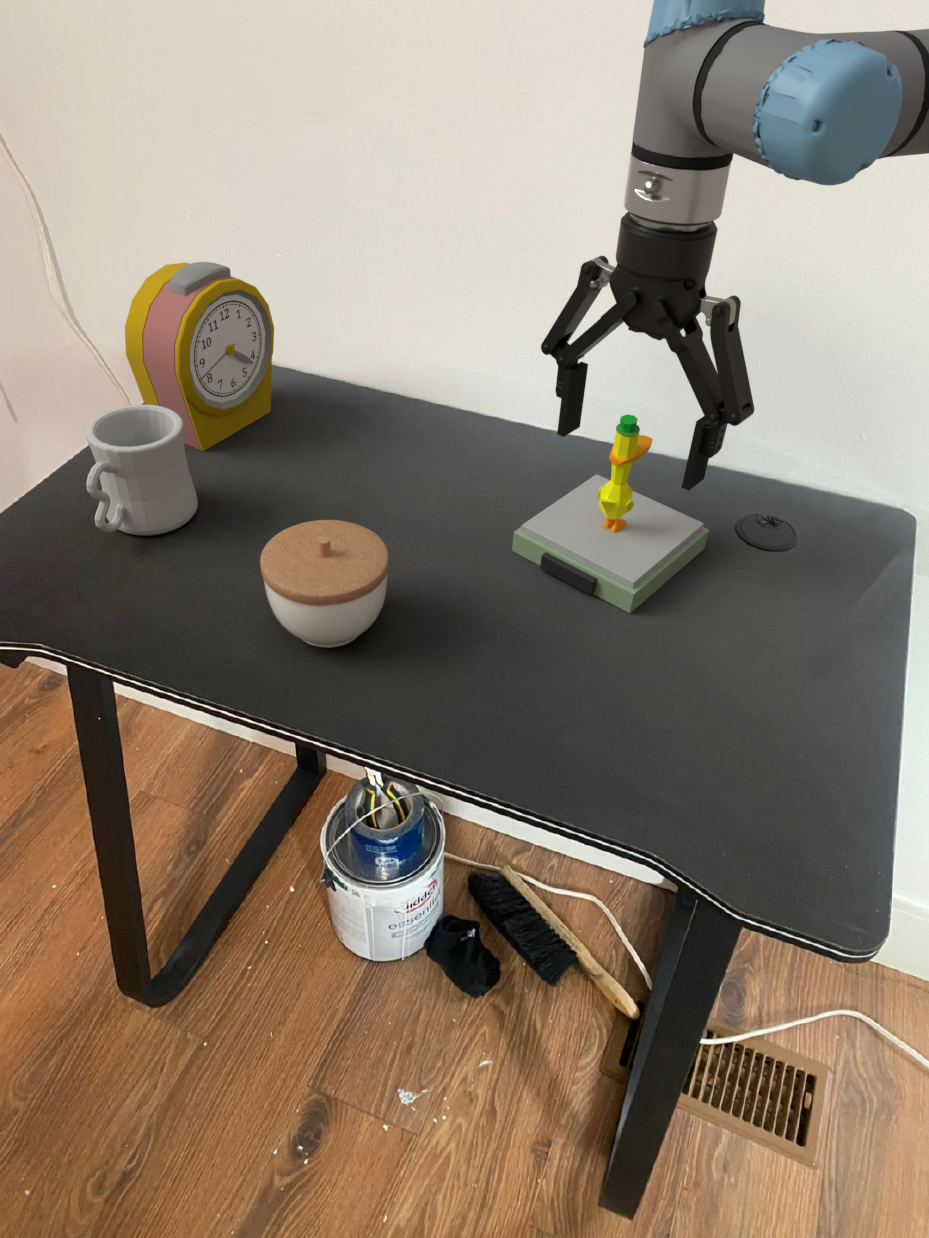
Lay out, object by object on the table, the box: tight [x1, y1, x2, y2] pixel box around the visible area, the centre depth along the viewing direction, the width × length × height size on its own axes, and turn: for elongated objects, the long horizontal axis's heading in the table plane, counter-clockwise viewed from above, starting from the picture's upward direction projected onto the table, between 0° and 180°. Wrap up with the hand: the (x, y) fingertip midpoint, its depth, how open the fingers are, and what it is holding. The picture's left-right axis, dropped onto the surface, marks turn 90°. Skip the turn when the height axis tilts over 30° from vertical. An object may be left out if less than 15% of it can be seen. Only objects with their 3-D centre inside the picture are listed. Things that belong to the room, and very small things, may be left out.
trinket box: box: [259, 519, 390, 648], centre depth 79 cm, size 11×11×9 cm
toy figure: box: [597, 414, 653, 533], centre depth 86 cm, size 7×4×12 cm, turn 138°
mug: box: [85, 404, 199, 537], centre depth 89 cm, size 12×9×10 cm
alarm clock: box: [124, 261, 275, 452], centre depth 102 cm, size 15×8×18 cm, turn 148°
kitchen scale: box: [511, 474, 710, 614], centre depth 91 cm, size 14×15×3 cm
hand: (628, 456), depth 85 cm, fingers open, 13 cm apart
